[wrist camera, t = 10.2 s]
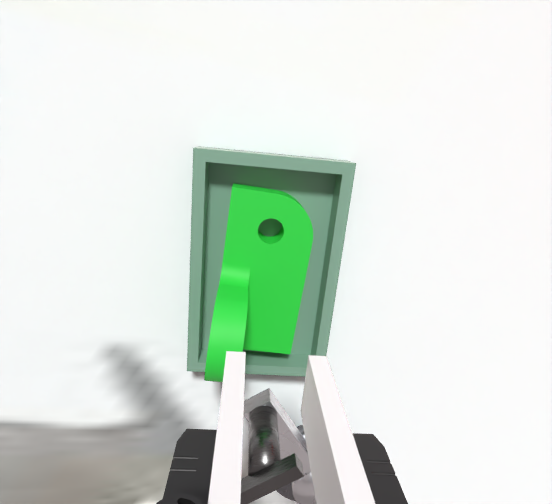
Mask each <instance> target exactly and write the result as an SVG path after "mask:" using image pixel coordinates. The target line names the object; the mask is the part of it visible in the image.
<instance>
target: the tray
mask: <svg viewBox="0 0 552 504" xmlns="http://www.w3.org/2000/svg"><path fill="white" fill-rule="evenodd" d="M355 167H356V163H353V162H350V161H344V160H334V159H324V158H313V157H303V156H292V155H282V154H272V153H261V152H251V151H240V150H230V149H220V148H209V147H195V148H193V182H192V216H191V251H190V285H189V320H188V354H187V371H196V372H205V367H206V359H207V351H208V344H209V337H210V330H211V324H212V318H213V312H214V306H215V301H216V296H217V291H218V287H219V282H220V276H221V270H222V262H223V254H224V246H225V239H226V231H227V223H228V215H229V207H230V199H231V191H232V186H233V183H236V184H243V185H249V186H255V187H262V188H268V189H275V190H280V191H283V192H285V193H288V194H289V195H291V196H292V197H294V198H295V199H296V200H297V201H298V202H299V203H300V204H301V205H302V207H303V208H304V210H305V211H306V213H307V214H308V216H309V218H310V220H311V223H312V228H313V242H312V248H311V253H310V258H309V263H308V268H307V273H306V278H305V283H304V288H303V293H302V298H301V303H300V308H299V313H298V318H297V323H296V328H295V333H294V338H293V343H292V348H291V353H290V354H282V353H273V352H264V351H255V350H246V349H243V352H246V356H245V374H261V375H283V376H304V377H305V376H306V369H307V362H308V355H312V356H326V353H327V347H328V340H329V334H330V328H331V321H332V315H333V308H334V302H335V296H336V289H337V283H338V276H339V270H340V264H341V257H342V251H343V244H344V238H345V231H346V225H347V219H348V212H349V206H350V199H351V193H352V187H353V180H354V174H355ZM281 227H282V224H281V222H279V221H278V220H276V219H272V218H270V219H266V220H264V221H262V222H261V224H260V225H259V227H258V229H259V231H260V232H261V233H262V234H263V235H265V236H274V235H276V234H278V233H279V231H280V230H281Z"/></svg>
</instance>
